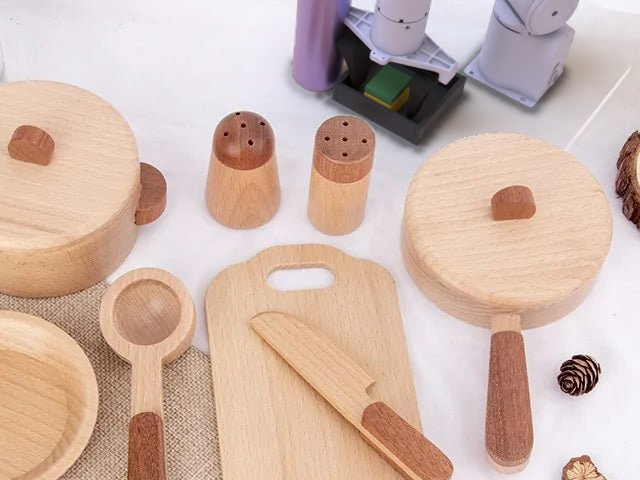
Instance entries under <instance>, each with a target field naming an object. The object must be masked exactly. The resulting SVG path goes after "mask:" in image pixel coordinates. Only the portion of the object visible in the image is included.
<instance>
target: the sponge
mask: <svg viewBox="0 0 640 480" xmlns="http://www.w3.org/2000/svg"><path fill="white" fill-rule="evenodd" d="M411 78H412V77H410V76H408V75H406V74H404V73H402V72H400V71H398V70H397V69H395V68H393V67H391V66H389V65H387V64H386V65H385V66H384V67H383V68H382V69H381V70H380V71H379V72H378V73H377V74H376V75H375V76H374V78H373V79H372V80H371V81H370V82H369V83H368V84H367V85H366V86H365V92H364V95H365V96H367V97H369V98H370V99H372V100H374V101H376V102H378V103H380V104H382V105H383V106H385V107H387V108H389V109H391V110H393V111H394V112H397V111H398V110H399V109H400V108H401V107H402V106H403V104H404V103H405V102H406V101H407V100H408V96H409V85H408V81H409V80H410V79H411Z"/></svg>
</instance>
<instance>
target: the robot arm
mask: <svg viewBox="0 0 640 480" xmlns="http://www.w3.org/2000/svg"><path fill="white" fill-rule="evenodd" d="M579 3H580V0H494V4H493V6H492V10H491V14H490V18H489V21H488V25H487V29H486V33H485V36H484V40H483V42H482V47H481V50H480V52H478V53H477V55H476V56H475V57H474V58H473V59H472V60H471V62H470V63H469V64H468V65H467V66H466V67H464V69H463V74H464V75H466V76H468V77H470V78H471V79H474V80H476V81H478V82H479V83H481V84H483V85H485V86H487V87H489V88H491V89H493V90H495V91H497V92H499V93H500V94H503V95H505V96H506V97H508V98H510V99H512V100H514V101H516V102H518V103H520V104H521V105H524V106H525V107H528V108H533V107H534V106H536V105H537V103H538V102H539V101H540V99H541V98H542V97H543V96H544V95H545V94H546V92H547V91H548V90H549V89H550V87H552V86H553V85H554V84H555V82H556V80H558V78H559V77H560V76H561V74H562V73H563V72H564V65H565V62H566V59H567V57H568V55H569V52H570V49H571V46H572V43H573V40H574V38H575V34H576V30H575V29H574V28H573V27H572V26H570V25H569V24H567V23H568V22H569V20H570V19H571V18H572V17H573V15H574V14H575V11H576V10H577V9H578V6H579ZM431 4H432V0H375V4H374V11H371V10H365V9H362V8H358V7H356V6H353V5H351V11H350V13H349V16H348V19H347V18H345V21H344V24H345V25H347V26H346V27H345V30H344V33H343V36H342V37H341V38H340V39H339V40H338V44H337V48H338V49H339V51H340V52H341V54H342V55H343V57H344V62H345V64H346V66H347V67H346V68H347V69H348V70H349V74H350V79H351V85H352V88H353V89H355V90H357V89H358V88H359V87H360V86H361V85H362V84H363V83H364V82H365V81H366V78H367V75H368V70H369V63H370V59H371V60H373V61H375V62H377V63H379V64H380V65H386V64H387V63H388V62H390V61H391V62H395V63H400V64H404V65H409V66H413V67H417V68H420V70H419V71H418V72H417V73H416V74H415V75H414V76H413V77H412V78H411V79H410V80H409V81H408V85H409V103H408V107H407V111H406V117H407V118H408V119H410V120H412V119H413V118H414V117H415V115H416V114H417V113H418V112H419V111H420V109H421V107H422V105H423V103H424V101H425V99H426V97H427V96H428V94H429V92H430V91H431V90H432V88H433V87H434V86H435V85H436V84H437V83H438V81H440V82H441V83H443V84H445V85H446V84H447V83H448V82H449V81H450V80H451V79H452V78H453V77H454V75H455V74H456V72H457V70H458V66H459V60H457V59H455V58H453V57H452V56H451V55H449V54H448V53H447V52H446V51H445V50H444V49H443V48H441V46H440V45H439V44H437V42H435V41H434V40H433V39H432V38H431V37H430V36H429V35H428V34H427V33H426V29H427V24H428V19H429V14H430V10H431V6H432V5H431ZM471 73H472V74H471Z"/></svg>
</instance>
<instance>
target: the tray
mask: <svg viewBox="0 0 640 480" xmlns="http://www.w3.org/2000/svg"><path fill="white" fill-rule="evenodd" d="M387 65H389V66H391V67H393V68H395V69H397V70H398V71H400V72H402V73H404V74H406V75H408V76H410V77H413V76H414V75H415V74H416V73H417V72H418V71H419V70H420V68H417V67H413V66H409V65H404V64H400V63H395V62H391V61H390V62H388V63H387ZM384 66H385V65H380V64H379V63H377V62H375V61H373V60H371V59H370V63H369V70H368V75H367V78H366V81H365V82H364V83H363V84H362V85H361V86H360V87H359V88H358V89H357V90H355V89H353V88H352V85H351V79H350V74H349V70H348V68H347V70H345V71H344V72H343V73H342V76H341V77H340V78H339V79H338V80H337V81H336V82H335V83H334V87H333V88H332V96H331V100H332V101H334V102H336V103H338V104H340V105H342V106H343V107H345V108H347V109H348V110H351V111H353V112H354V113H356V114H358V115H359V116H362V117H363V118H365V119H366V120H369V121H371V122H372V123H374V124H376V125H377V126H380V127H381V128H383V129H386V130H387V131H389V132H391V133H393V134H394V135H396V136H397V137H400V138H402V139H403V140H405V141H406V142H409V143H411V144H413V145H415V146H418V144H419V143H420V142H421V141H422V140H423V139H424V138H425V136H427V134H428V133H429V132H430V131H431V130H432V129H433V128H434V126H435V125H436V124H437V123H439V121H440V120H441V119H442V117H443V116H445V114H446V113H447V112H448V111H449V110H450V108H451V107H452V106H453V105H454V104H455V103H456V102H457V100H459V98H460V97H461V96H462V95H463V93H464V91H465V86H466V82H467V79H468V77H467V76H465V75H463V74H461V73H459V72H457V71H456V74H455V75H454V77H453V78H452V79H451V80H450V81H449V82H448V83H447V84H446V85H445V84H443V83H441V82H440V81H438V83H437V84H436V85H435V86H434V87H433V88H432V90H431V91H430V92H429V94H428V96H427V97H426V99H425V101H424V103H423V105H422V107H421V109H420V111H419V112H418V113H417V114H416V115H415V117H414V118H413V119H412V120H410V119H408V118H407V117H406V111H407V107H408V103H409V96H408V100H407V101H406V102H405V103H404V104H403V106H402V107H401V108H400V109H399V110H398V111H397V112H394V111H393V110H391V109H389V108H387V107H385V106H383V105H382V104H380V103H378V102H376V101H374V100H372V99H370V98H369V97H367V96H365V95H364V92H365V86H366V85H367V84H368V83H369V82H370V81H371V80H372V79H373V78H374V76H375V75H376V74H377V73H378V72H379V71H380V70H381V69H382V68H383V67H384Z"/></svg>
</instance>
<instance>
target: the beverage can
mask: <svg viewBox="0 0 640 480" xmlns="http://www.w3.org/2000/svg"><path fill="white" fill-rule="evenodd" d="M352 2H353V0H297V1H296V13H295V26H294V40H293V55H292V65H291V66H292V67H291V75H292V77H293V79H294V81H295V82H296V83H297V84H298V86H300V87H302V88H303V89H305V90H308V91H311V92H324V91H325V92H326V91H328V90H332V89H333V88H334V83H335V82H336V81H337V80H338V79H339V78H340V77H341V76H342V75H343V74H344V72H343V71H344V65H345V59H344V57H343V55H342V54H341V52H340V51H339V49H338V48H337V44H338V40H339V39H340V38H341V37H342V36H343V33H344V30H345V27H346V26H347V25H345V24H344V21H345V18H347V19H348V16H349V13H350V11H351V6H352V4H353V3H352Z"/></svg>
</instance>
